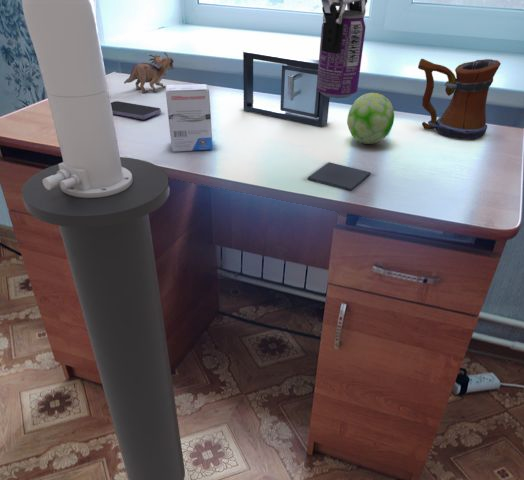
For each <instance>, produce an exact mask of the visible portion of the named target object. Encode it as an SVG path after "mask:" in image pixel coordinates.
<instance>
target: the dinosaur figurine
mask: <svg viewBox="0 0 524 480" xmlns="http://www.w3.org/2000/svg"><path fill="white" fill-rule="evenodd" d="M163 54H164V55H165V57H166V58H163V57H162V56H161V55H158V54H148V56H149V57H151V58H149V59H148V62H140V63H137V64H135V65H134V66H133V68H132V69H131V72H130V75H129V77H128V78H126V80H125V81H124V82H123V84H125V85H126V84H127V83H128V84H129V83H132V82H134V81H136V82H135V88H136V89H138V90H141V92H142V93H143V94H147V93H148V92H149V91H148V90H147V89H146V88H145V84H146V83H148V85H149V86H150V88H151V89H152V92H153V93H158V90H157V89H156V88H155V86H158V87H162V88H163V89H166V85H164V83H162V82H161V81H162V80H163V79H164V78H165V77H166V76H167V74H168V71H169V70H174V68H175V67H174V64H173V63H175V61H174V59H173V58H172V57H171V56H170V55H169V54H168V53H167V52H163ZM149 61H151V62H149ZM155 65H156V66H155ZM139 84H140V85H139Z"/></svg>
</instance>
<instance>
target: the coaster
mask: <svg viewBox="0 0 524 480" xmlns="http://www.w3.org/2000/svg"><path fill="white" fill-rule="evenodd" d="M371 174H372V173H371V171H367V170H362V169H358V168H355V167H350V166H346V165H342V164H338V163H334V162H327V163H326V164H324V165H323V166H322V167H320V168H319V169H318V170H316V171H315V172H313V173H312V174H310V175H309V176H308V177H307V181H312V182H316V183H319V184H324V185H327V186H331V187H334V188H339V189H342V190H346V191H349V192H350V191H351V192H352V191H353V190H354V189H355V188H356V187H358V186H359V185H360V184H361V183H362V182H364V181H365V180H366V179H367V178H368V177H369V176H371Z"/></svg>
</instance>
